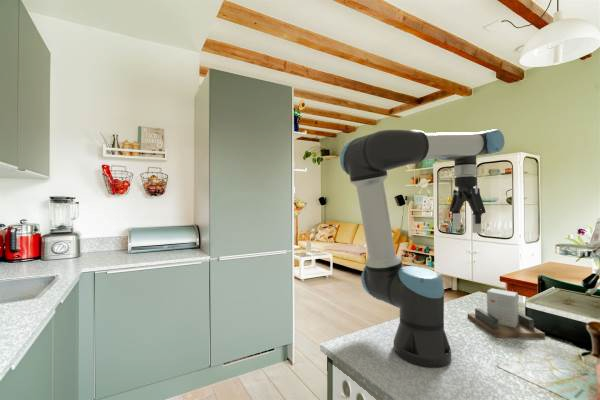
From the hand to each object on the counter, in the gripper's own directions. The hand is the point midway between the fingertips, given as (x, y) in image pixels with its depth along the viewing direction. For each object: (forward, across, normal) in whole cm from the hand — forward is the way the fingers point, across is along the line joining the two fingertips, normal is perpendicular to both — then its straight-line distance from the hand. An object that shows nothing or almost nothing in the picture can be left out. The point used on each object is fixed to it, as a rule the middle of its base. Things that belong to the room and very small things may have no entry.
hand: (466, 231), depth 111 cm
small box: (+30, -13, -5) cm, 33 cm away
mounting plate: (+32, -13, -5) cm, 35 cm away
